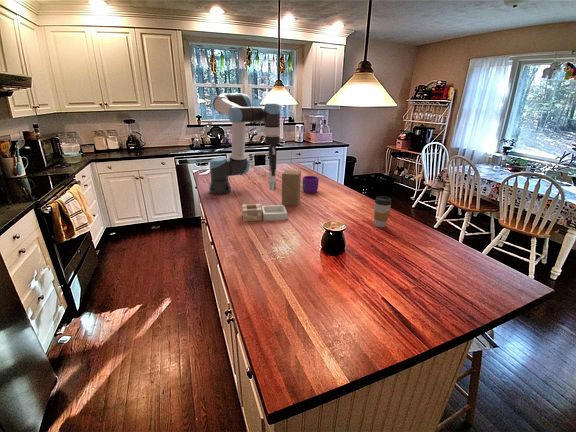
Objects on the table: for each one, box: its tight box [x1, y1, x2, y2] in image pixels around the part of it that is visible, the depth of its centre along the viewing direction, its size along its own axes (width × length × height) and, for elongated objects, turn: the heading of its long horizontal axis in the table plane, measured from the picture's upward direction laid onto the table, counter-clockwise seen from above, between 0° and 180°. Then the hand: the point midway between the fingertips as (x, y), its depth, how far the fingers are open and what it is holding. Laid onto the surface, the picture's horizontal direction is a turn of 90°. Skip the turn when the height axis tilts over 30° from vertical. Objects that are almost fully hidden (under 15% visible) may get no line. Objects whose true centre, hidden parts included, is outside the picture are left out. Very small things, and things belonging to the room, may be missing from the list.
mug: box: [302, 175, 319, 194], centre depth 210 cm, size 17×11×10 cm, turn 17°
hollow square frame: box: [241, 203, 263, 222], centre depth 161 cm, size 10×10×6 cm
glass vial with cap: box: [268, 163, 277, 192], centre depth 156 cm, size 4×4×14 cm
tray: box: [261, 204, 288, 222], centre depth 164 cm, size 13×13×4 cm
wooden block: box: [281, 169, 302, 207], centre depth 181 cm, size 10×10×20 cm
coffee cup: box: [373, 195, 392, 228], centre depth 152 cm, size 8×8×15 cm
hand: (272, 180), depth 156 cm, fingers closed on glass vial with cap, 3 cm apart
